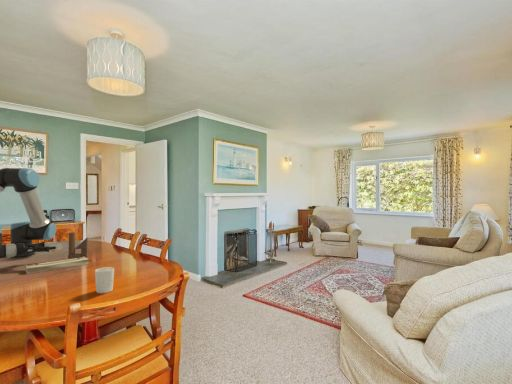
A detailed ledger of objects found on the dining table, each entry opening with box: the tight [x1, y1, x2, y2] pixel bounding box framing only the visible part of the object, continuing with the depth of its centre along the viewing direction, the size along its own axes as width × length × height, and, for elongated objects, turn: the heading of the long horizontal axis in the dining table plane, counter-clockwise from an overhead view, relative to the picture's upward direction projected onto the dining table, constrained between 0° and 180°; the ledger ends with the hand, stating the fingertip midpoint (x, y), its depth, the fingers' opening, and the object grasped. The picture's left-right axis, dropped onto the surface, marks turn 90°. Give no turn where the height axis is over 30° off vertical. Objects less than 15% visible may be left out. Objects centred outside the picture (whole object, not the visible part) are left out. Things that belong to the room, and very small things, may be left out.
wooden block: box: [67, 231, 89, 259], centre depth 187 cm, size 4×11×18 cm, turn 114°
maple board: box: [24, 257, 90, 275], centre depth 168 cm, size 10×30×3 cm, turn 135°
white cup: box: [94, 266, 115, 294], centre depth 130 cm, size 8×8×10 cm
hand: (59, 245), depth 178 cm, fingers open, 13 cm apart
